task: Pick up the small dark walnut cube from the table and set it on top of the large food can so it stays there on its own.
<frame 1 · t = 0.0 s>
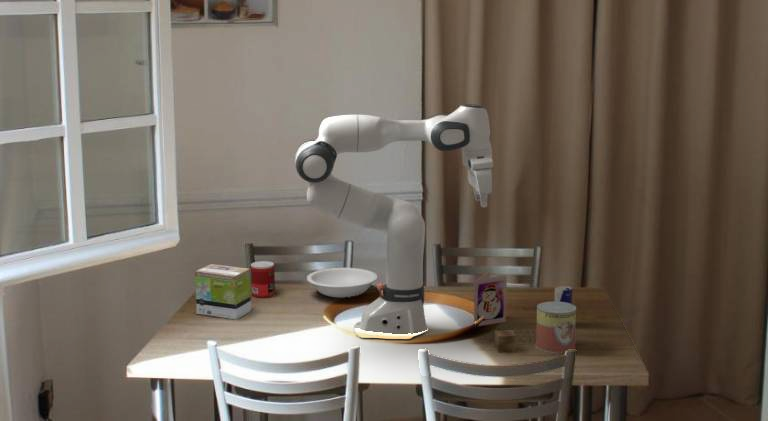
hand: (481, 203, 308), 39 cm above the table, tool pointing down, fingers open, 8 cm apart
soup bowl: (342, 295, 351), on the table
canned food 2: (555, 347, 299), on the table
tea box: (224, 313, 332), on the table
walnut block: (504, 349, 297), on the table
greeting card: (485, 322, 322), on the table
canned food: (263, 295, 352), on the table
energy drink: (562, 325, 318), on the table
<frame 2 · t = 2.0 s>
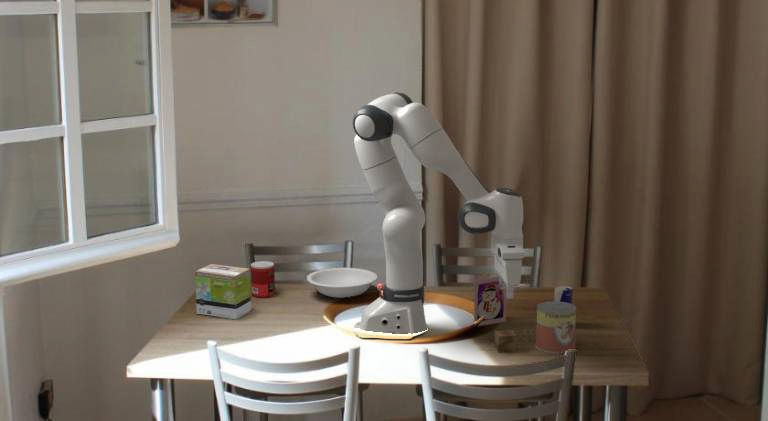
hand: (506, 293, 293), 17 cm above the table, tool pointing down, fingers open, 8 cm apart
nothing on the table moved.
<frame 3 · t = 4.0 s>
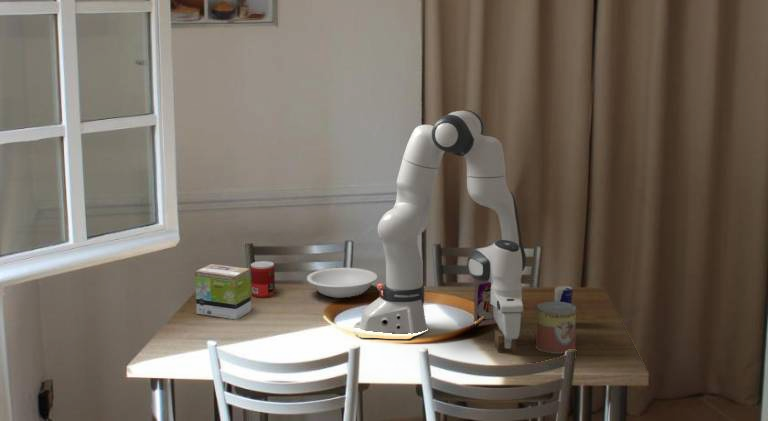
hand: (505, 344, 296), 2 cm above the table, tool pointing down, fingers closed on walnut block, 5 cm apart
walnut block: (504, 349, 297), on the table, touching gripper
everything else where it was.
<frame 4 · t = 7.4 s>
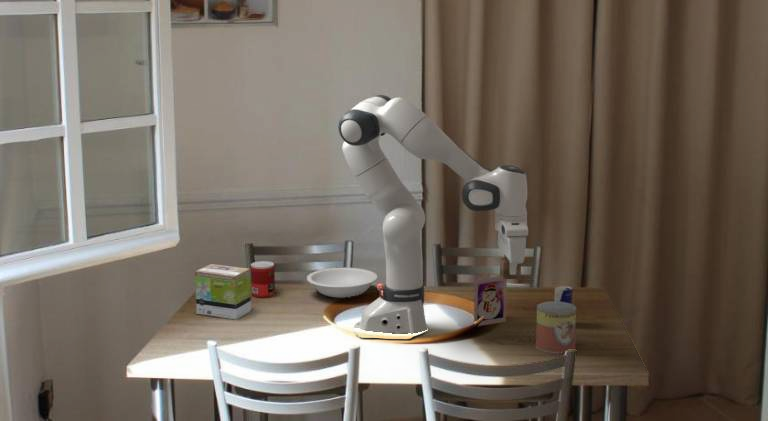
hand: (510, 271, 292), 23 cm above the table, tool pointing down, fingers closed on walnut block, 5 cm apart
walnut block: (510, 276, 292), point 22 cm above the table, touching gripper
everything else where it was.
when the fingers open (15 cm above the table, at t = 10.8 s): walnut block drops 2 cm, resting on canned food 2.
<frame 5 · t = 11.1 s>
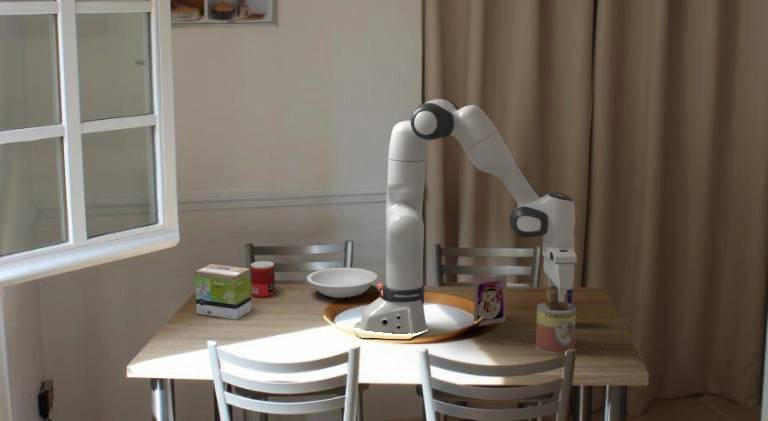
hand: (556, 296, 296), 15 cm above the table, tool pointing down, fingers open, 8 cm apart
canned food 2: (555, 347, 299), on the table, touching walnut block
walnut block: (556, 307, 296), point 12 cm above the table, touching canned food 2
everything else where it was.
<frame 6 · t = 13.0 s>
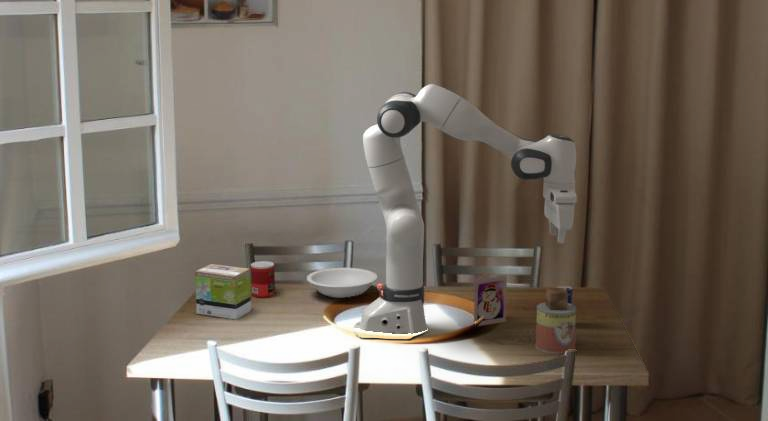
hand: (556, 238, 296), 31 cm above the table, tool pointing down, fingers open, 8 cm apart
nothing on the table moved.
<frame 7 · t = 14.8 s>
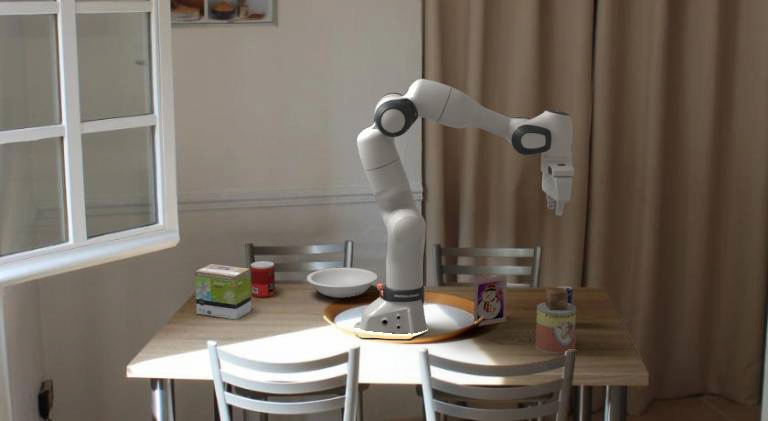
hand: (554, 211, 304), 37 cm above the table, tool pointing down, fingers open, 8 cm apart
nothing on the table moved.
at the end: walnut block inside the target area on the canned food 2 (0.1 cm from its centre), point 12.2 cm above the canned food 2's base; walnut block tilted 0°; the gripper is holding nothing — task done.
